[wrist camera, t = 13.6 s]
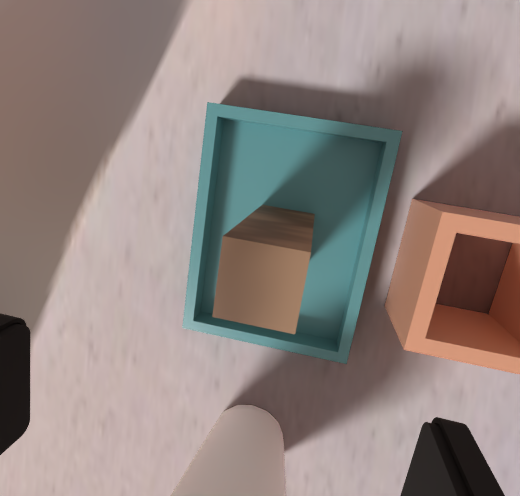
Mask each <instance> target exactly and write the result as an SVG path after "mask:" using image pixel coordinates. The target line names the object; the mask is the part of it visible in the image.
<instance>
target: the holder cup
mask: <svg viewBox="0 0 520 496" xmlns="http://www.w3.org/2000/svg"><path fill="white" fill-rule="evenodd" d="M456 233H461V234H466V235H472V236H478V237H483V238H489V239H495V240H501V241H506V242H512V246H511V249H510V252H509V255H508V258H507V261H506V263H505V266H504V269H503V272H502V275H501V278H500V281H499V284H498V287H497V290H496V293H495V296H494V299H493V302H492V305H491V308H490V311H489V314H486V313H481V312H476V311H471V310H466V309H461V308H455V307H450V306H445V305H440V304H435V303H436V300H437V297H438V293H439V290H440V286H441V283H442V280H443V276H444V273H445V269H446V266H447V263H448V259H449V256H450V252H451V249H452V246H453V242H454V239H455V235H456ZM385 308H386V310H387V313H388V315H389V317H390V319H391V322H392V324H393V326H394V329H395V331H396V333H397V335H398V338H399V340H400V342H401V345H402V347H403V349H404V350H407V351H412V352H417V353H421V354H426V355H431V356H436V357H440V358H445V359H450V360H454V361H459V362H464V363H469V364H473V365H478V366H483V367H487V368H492V369H497V370H502V371H506V372H511V373H516V374H520V217H519V216H513V215H507V214H501V213H495V212H489V211H483V210H477V209H471V208H465V207H459V206H453V205H447V204H441V203H435V202H429V201H423V200H417V199H412V202H411V205H410V209H409V213H408V217H407V221H406V225H405V229H404V233H403V236H402V240H401V244H400V248H399V252H398V256H397V260H396V264H395V268H394V271H393V275H392V279H391V283H390V287H389V291H388V295H387V299H386V302H385Z"/></svg>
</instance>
